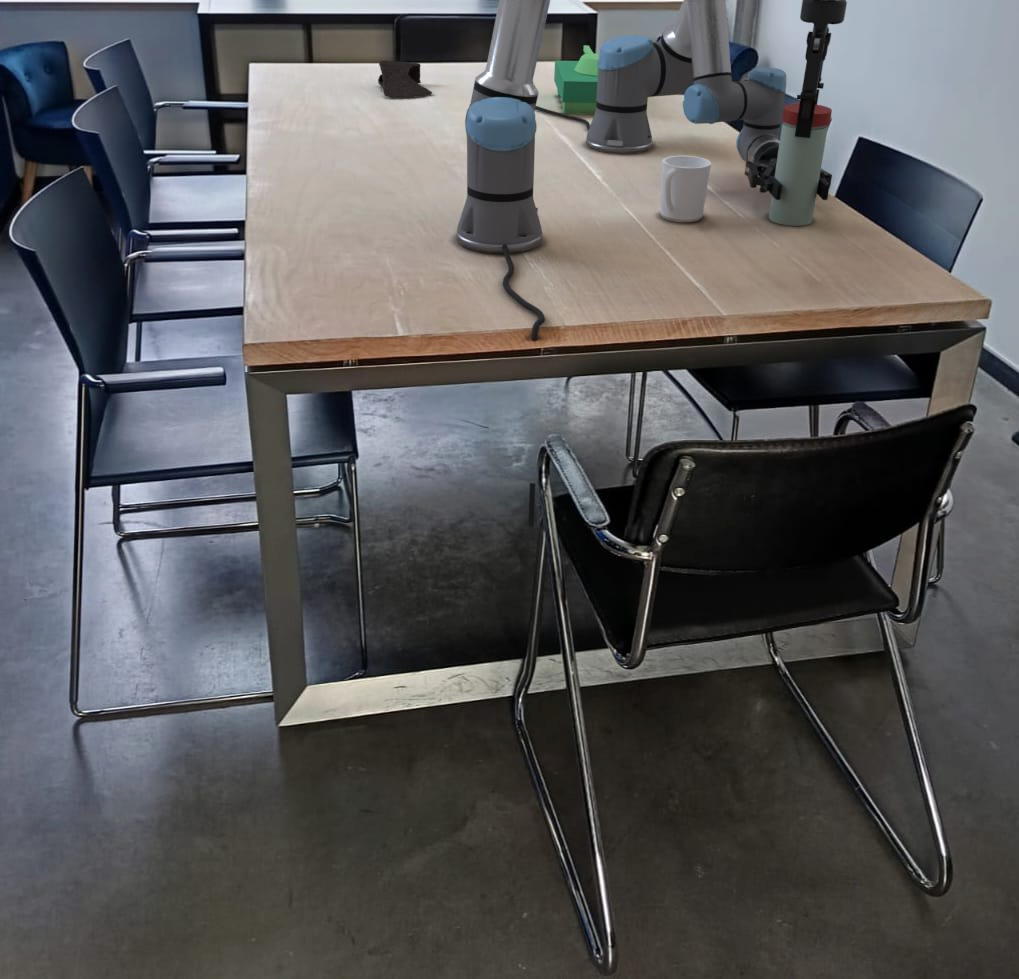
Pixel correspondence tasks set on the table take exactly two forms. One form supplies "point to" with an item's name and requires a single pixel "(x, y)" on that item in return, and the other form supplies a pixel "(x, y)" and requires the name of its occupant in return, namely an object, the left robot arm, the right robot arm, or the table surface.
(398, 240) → the table surface
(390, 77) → the axe head
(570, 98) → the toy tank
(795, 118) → the lid
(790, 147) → the jar
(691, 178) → the mug
